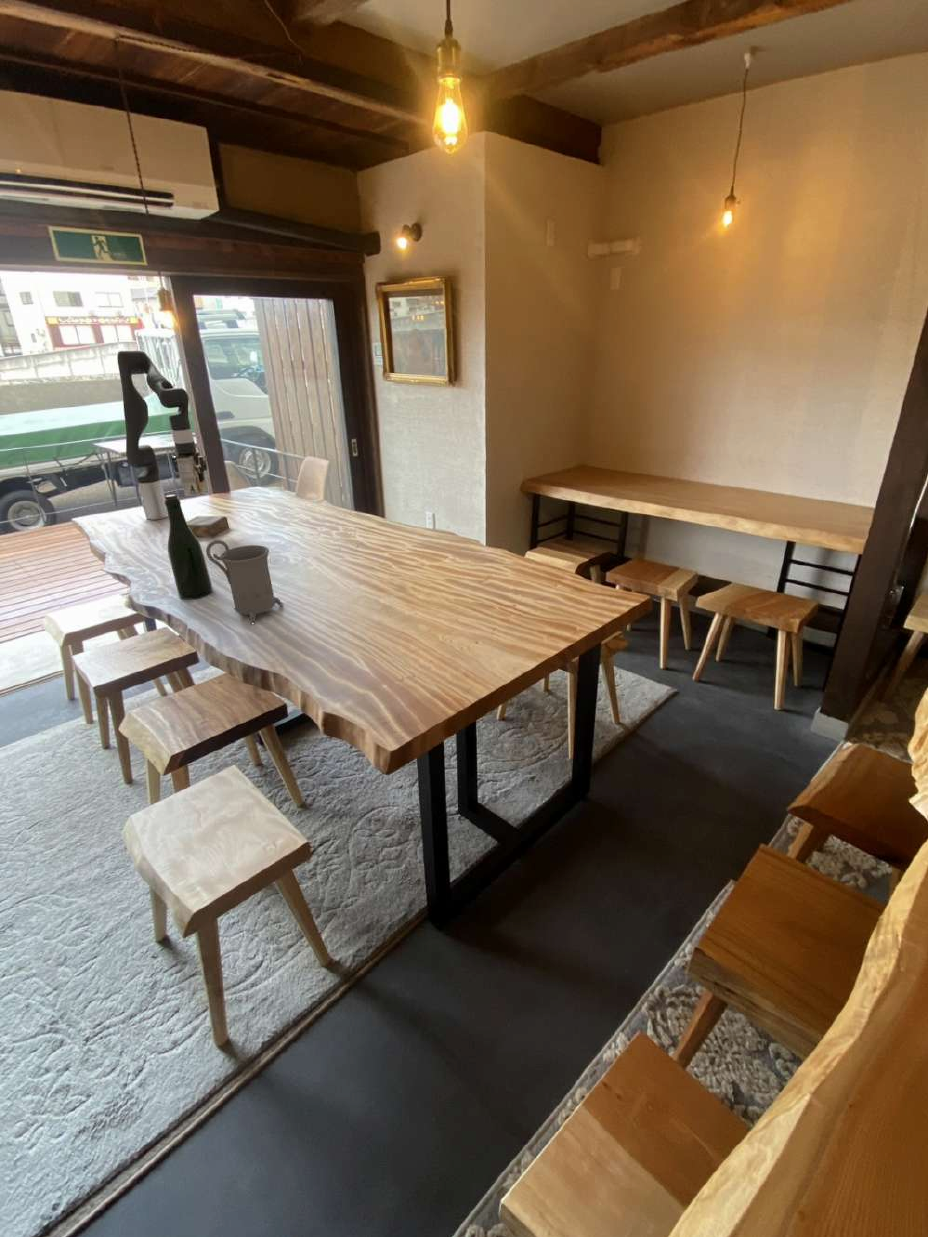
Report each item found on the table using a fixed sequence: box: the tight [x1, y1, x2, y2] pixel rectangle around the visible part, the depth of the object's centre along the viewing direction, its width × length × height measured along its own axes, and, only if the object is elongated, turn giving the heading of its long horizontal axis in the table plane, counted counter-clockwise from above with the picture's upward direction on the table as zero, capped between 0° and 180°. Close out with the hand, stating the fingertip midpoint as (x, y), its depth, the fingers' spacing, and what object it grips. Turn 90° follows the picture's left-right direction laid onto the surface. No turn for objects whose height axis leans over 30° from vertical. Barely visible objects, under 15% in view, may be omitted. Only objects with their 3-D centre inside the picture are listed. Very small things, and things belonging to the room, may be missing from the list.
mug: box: [205, 539, 284, 624], centre depth 175 cm, size 19×15×25 cm
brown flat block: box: [186, 515, 230, 539], centre depth 256 cm, size 14×14×5 cm
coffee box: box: [174, 451, 209, 497], centre depth 246 cm, size 9×6×16 cm
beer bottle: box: [164, 494, 213, 599], centre depth 189 cm, size 10×10×33 cm
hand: (193, 481), depth 247 cm, fingers closed on coffee box, 6 cm apart
